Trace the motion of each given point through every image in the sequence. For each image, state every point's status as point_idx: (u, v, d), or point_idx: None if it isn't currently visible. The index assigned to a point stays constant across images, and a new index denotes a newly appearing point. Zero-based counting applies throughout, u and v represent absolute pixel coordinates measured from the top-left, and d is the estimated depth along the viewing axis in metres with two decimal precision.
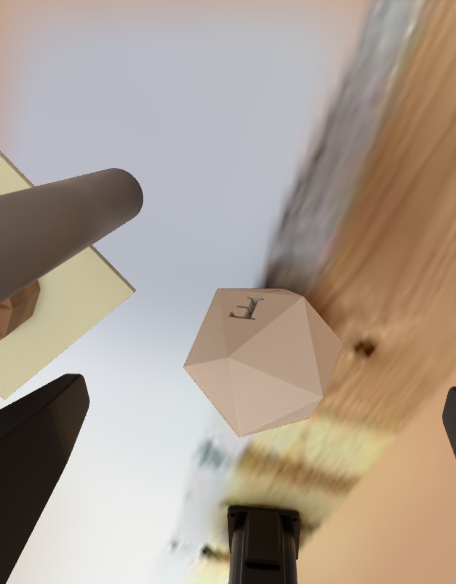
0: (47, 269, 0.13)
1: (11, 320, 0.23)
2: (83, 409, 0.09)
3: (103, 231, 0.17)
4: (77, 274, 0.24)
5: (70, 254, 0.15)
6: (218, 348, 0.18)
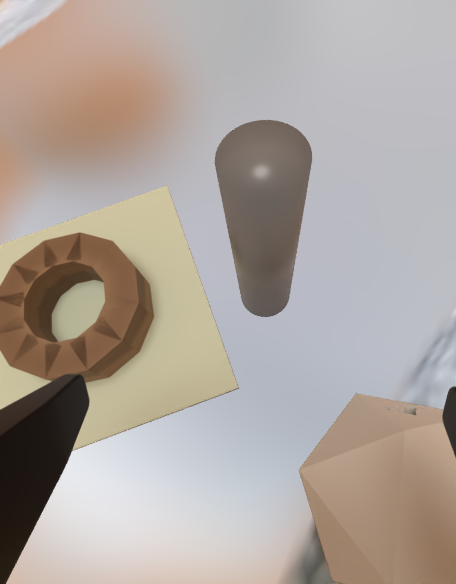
0: (286, 233, 0.14)
1: (108, 354, 0.20)
2: (83, 409, 0.09)
3: (285, 277, 0.18)
4: (188, 348, 0.23)
5: (285, 252, 0.15)
6: (379, 430, 0.14)
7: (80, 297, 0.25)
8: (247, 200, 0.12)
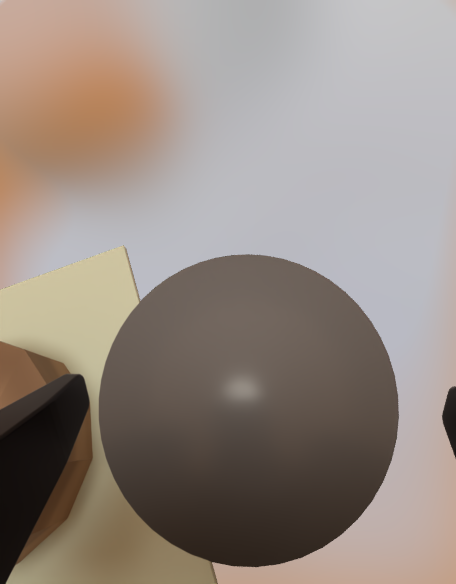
0: None
1: None
2: (83, 409, 0.09)
3: None
4: None
5: None
6: None
7: None
8: (191, 543, 0.04)
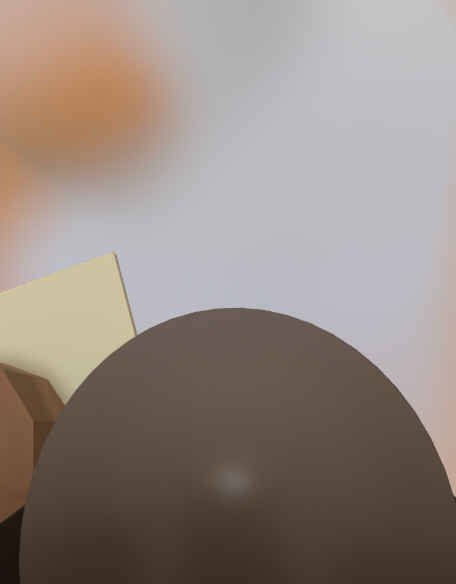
0: None
1: None
2: None
3: None
4: None
5: None
6: None
7: None
8: None
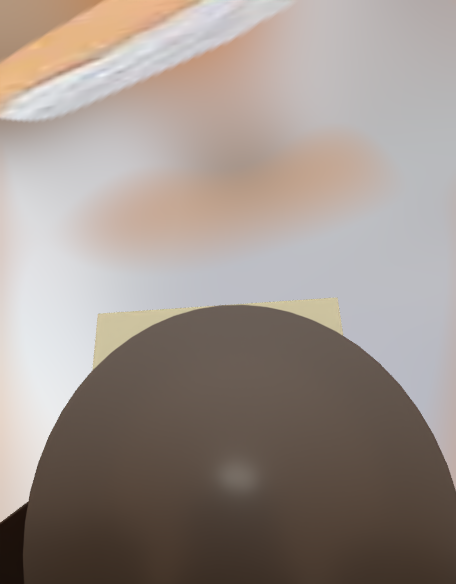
0: None
1: None
2: None
3: None
4: None
5: None
6: None
7: None
8: None
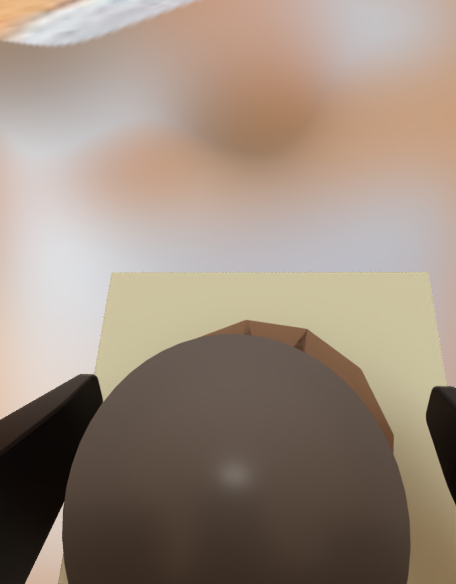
0: None
1: None
2: (97, 410, 0.09)
3: None
4: None
5: None
6: None
7: None
8: None
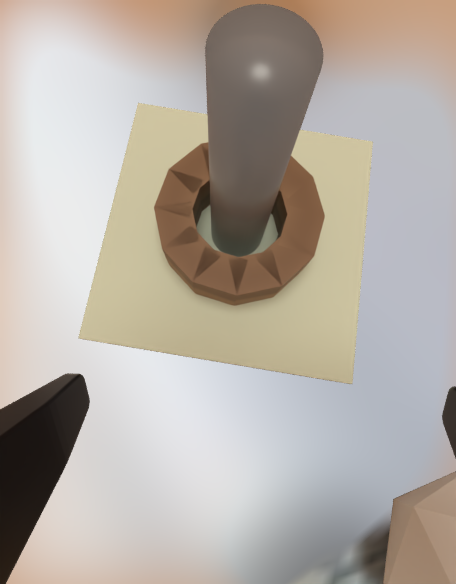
0: (274, 158, 0.12)
1: (261, 291, 0.19)
2: (83, 409, 0.09)
3: (263, 214, 0.17)
4: (321, 320, 0.21)
5: (268, 183, 0.14)
6: None
7: None
8: (237, 103, 0.10)
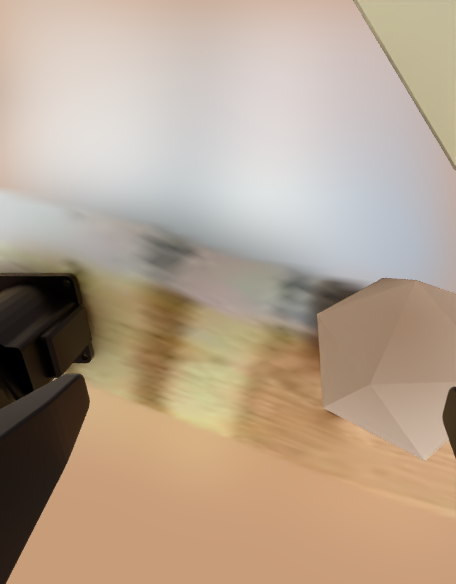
0: None
1: None
2: (83, 409, 0.09)
3: None
4: None
5: None
6: None
7: None
8: None
